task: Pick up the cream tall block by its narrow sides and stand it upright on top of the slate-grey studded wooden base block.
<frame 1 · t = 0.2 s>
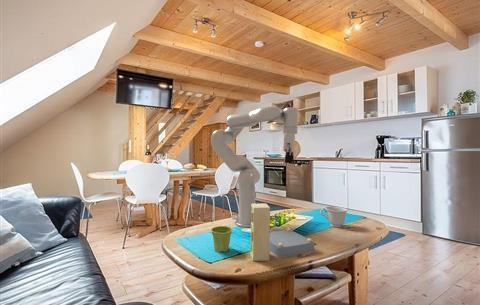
hand: (289, 162, 139), 37 cm above the table, tool pointing down, fingers open, 9 cm apart
cream tall block: (258, 257, 105), on the table
teacup: (333, 226, 149), on the table
plant pot: (221, 249, 112), on the table
base block: (285, 246, 116), on the table
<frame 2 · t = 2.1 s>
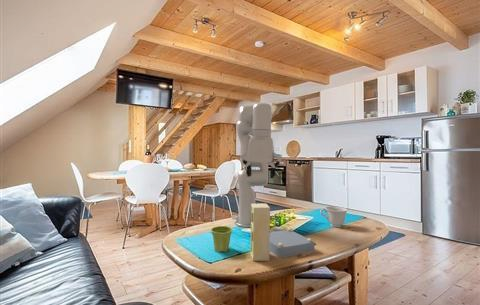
hand: (260, 177, 104), 32 cm above the table, tool pointing down, fingers open, 9 cm apart
nothing on the table moved.
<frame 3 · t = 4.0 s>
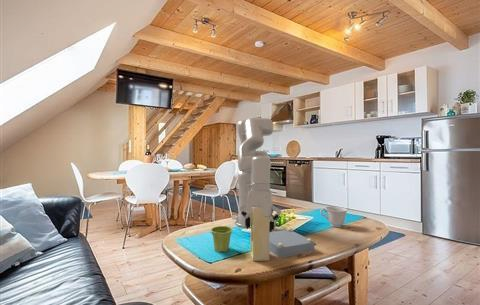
hand: (259, 229, 104), 11 cm above the table, tool pointing down, fingers open, 9 cm apart
nothing on the table moved.
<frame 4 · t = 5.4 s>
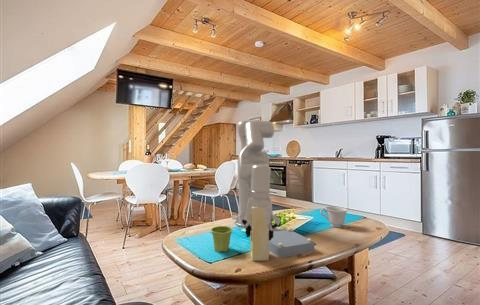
hand: (259, 237, 104), 8 cm above the table, tool pointing down, fingers closed on cream tall block, 8 cm apart
cream tall block: (258, 257, 105), on the table, touching gripper
everything else where it was.
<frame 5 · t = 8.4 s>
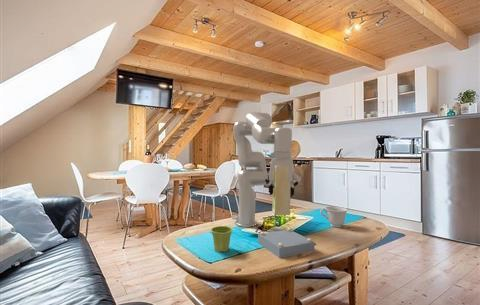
hand: (281, 195, 113), 24 cm above the table, tool pointing down, fingers closed on cream tall block, 8 cm apart
cream tall block: (279, 213, 114), point 16 cm above the table, touching gripper
everything else where it was.
when the fingers open (13 cm above the table, at t = 11.8 s): cream tall block stays where it is, resting on base block.
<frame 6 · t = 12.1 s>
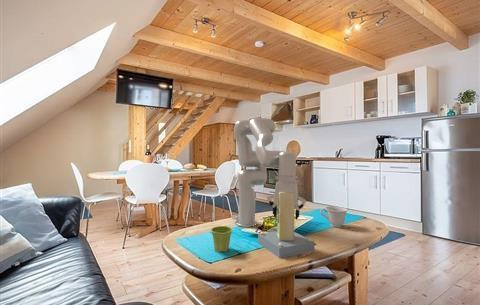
hand: (285, 217, 116), 13 cm above the table, tool pointing down, fingers open, 9 cm apart
cream tall block: (284, 237, 116), point 4 cm above the table, touching base block
everything else where it was.
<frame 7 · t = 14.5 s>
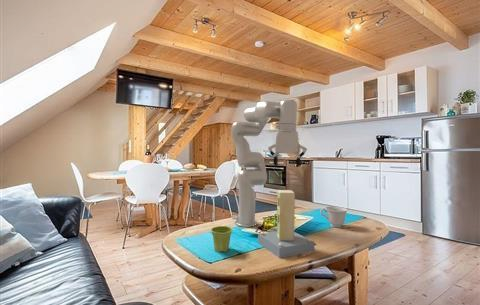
hand: (286, 166, 116), 36 cm above the table, tool pointing down, fingers open, 9 cm apart
nothing on the table moved.
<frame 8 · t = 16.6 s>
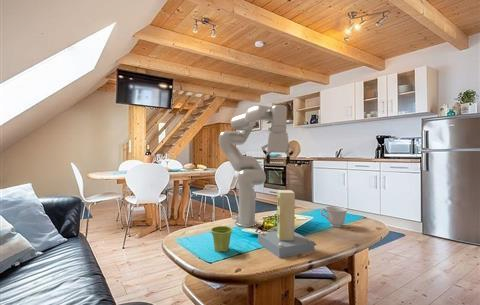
hand: (277, 164, 130), 36 cm above the table, tool pointing down, fingers open, 9 cm apart
nothing on the table moved.
at the end: cream tall block inside the target area on the base block (0.5 cm from its centre), point 3.8 cm above the base block's base; cream tall block tilted 0°; the gripper is holding nothing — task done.
